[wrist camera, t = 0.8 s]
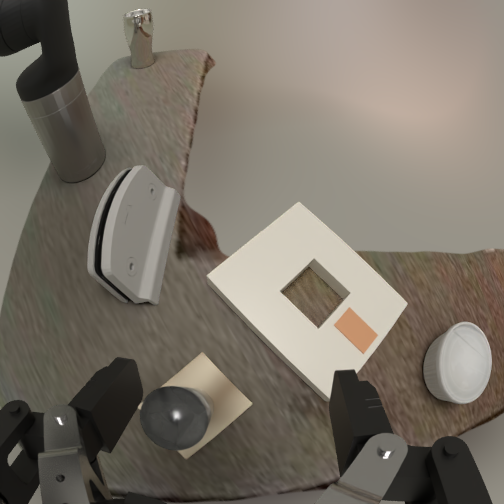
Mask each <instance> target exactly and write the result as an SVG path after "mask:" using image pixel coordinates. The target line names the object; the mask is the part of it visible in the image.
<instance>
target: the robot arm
mask: <svg viewBox="0 0 504 504" xmlns="http://www.w3.org/2000/svg"><path fill="white" fill-rule="evenodd" d="M39 42H41V46H42V55H41V56H40V57H39V58H38V59H37V60H35V61H34V62H33V63H32V64H31V65H30V66H28V67H27V68H26V69H25V70H24V71H23V72H22V74H21V75H20V76H19V78H18V80H17V82H16V88H17V91H18V94H19V96H20V98H21V101H22V103H23V105H24V108H25V110H26V112H27V114H28V116H29V118H30V120H31V122H32V124H33V127H34V129H35V131H36V133H37V135H38V137H39V139H40V141H41V143H42V145H43V147H44V149H45V150H46V152H47V154H48V156H49V158H50V160H51V162H52V164H53V166H54V167H55V169H56V171H57V173H58V174H59V176H60V178H61V179H62V180H63V181H66V182H78V181H81V180H84V179H86V178H88V177H89V176H91V175H92V174H94V173H95V172H96V171H97V170H98V169H99V168H100V167H101V165H102V164H103V162H104V160H105V149H104V147H103V144H102V141H101V138H100V135H99V132H98V129H97V126H96V123H95V120H94V117H93V114H92V111H91V108H90V105H89V101H88V98H87V95H86V92H85V88H84V85H83V82H82V78H81V75H80V71H79V68H78V63H77V59H76V54H75V47H74V42H73V37H72V33H71V26H70V20H69V10H68V2H67V0H0V56H8V55H11V54H14V53H16V52H18V51H21V50H23V49H25V48H27V47H30V46H32V45H34V44H37V43H39ZM142 397H143V388H142V384H141V380H140V376H139V372H138V368H137V364H136V362H135V360H133V359H126V358H120V357H117V358H115V360H114V361H113V362H112V363H111V364H110V365H109V366H108V367H107V366H106V367H104V368H103V369H101V370H99V371H97V372H96V373H95V374H94V376H93V377H92V378H91V380H89V381H88V382H87V383H86V386H84V387H83V388H82V389H81V390H80V391H79V393H78V394H77V395H76V396H75V397H74V398H73V400H72V401H71V402H70V403H69V404H68V405H56V406H53V407H51V408H49V409H48V410H47V411H46V412H45V413H38V412H31V410H30V408H29V406H28V404H27V403H26V402H24V401H22V400H14V401H11V402H9V403H7V404H6V405H5V406H4V407H3V408H2V409H1V410H0V504H28V503H29V501H30V499H31V498H32V496H33V494H34V493H35V491H36V489H37V488H38V486H39V484H40V488H41V496H42V503H43V504H166V503H164V502H162V501H160V500H158V499H154V498H150V497H146V496H142V495H139V494H135V493H132V492H128V494H127V496H126V498H125V499H113V498H112V496H111V494H110V492H109V489H108V486H107V483H106V480H105V477H104V473H103V470H102V466H101V463H100V459H99V457H98V455H97V454H98V453H99V451H100V450H102V451H105V452H108V453H111V452H112V450H113V448H114V447H115V445H116V443H117V441H118V440H119V438H120V436H121V435H122V433H123V431H124V430H125V428H126V426H127V424H128V423H129V421H130V419H131V418H132V416H133V414H134V413H135V411H136V409H137V408H138V406H139V404H140V403H141V400H142ZM329 411H330V418H331V424H332V430H333V435H334V441H335V447H336V453H337V459H338V466H339V472H340V477H341V478H340V480H339V481H338V482H337V483H335V482H334V483H333V484H331V485H330V486H329V487H328V489H327V490H326V491H325V492H324V493H323V494H322V495H321V497H320V498H319V499H318V500H317V501H316V502H315V503H314V504H379V503H380V501H381V500H388V501H405V504H492V501H491V499H490V496H489V494H488V491H487V489H486V486H485V484H484V482H483V479H482V477H481V474H480V472H479V470H478V468H477V465H476V463H475V461H474V459H473V457H472V454H471V452H470V451H469V448H468V446H467V444H466V443H465V442H464V441H463V440H461V439H459V438H457V437H452V436H447V437H442V438H440V439H438V440H437V441H436V442H435V443H434V444H433V446H432V447H416V446H409V445H407V444H406V442H405V441H404V440H403V439H402V438H401V437H399V436H397V435H395V434H394V433H393V431H392V428H391V426H390V423H389V421H388V418H387V415H386V413H385V410H384V408H383V407H382V403H381V400H380V399H379V395H378V393H377V391H376V388H375V387H374V386H372V385H371V384H370V383H369V382H368V381H359V380H358V377H357V374H356V372H355V370H354V369H350V370H335V372H334V377H333V384H332V390H331V396H330V403H329ZM18 442H19V444H20V446H21V447H22V448H23V450H22V451H21V452H20V454H19V455H18V456H17V458H16V459H15V461H14V462H13V463H12V465H11V466H9V465H8V462H7V458H8V455H9V453H10V452H11V451H12V449H13V448H14V447H15V446H16V444H17V443H18Z"/></svg>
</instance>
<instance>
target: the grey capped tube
mask: <svg viewBox="0 0 504 504" xmlns="http://www.w3.org/2000/svg"><path fill="white" fill-rule="evenodd" d="M213 412H214V404H213V401H212V399H211V397H210V396H209V395H208V394H207V393H206V392H205V391H203V390H201V389H197V388H188V387H178V386H165V387H161V388H158V389H156V390H154V391H153V392H151V393H150V394H149V395H148V396H147V397H146V398H145V400H144V401H143V404H142V406H141V410H140V420H141V425H142V428H143V430H144V432H145V433H146V435H147V436H148V437H149V438H150V439H151V440H152V441H153V442H154V443H155V444H157V445H159V446H161V447H163V448H166V449H169V450H185V449H188V448H191V447H193V446H195V445H196V444H197V443H198V442H200V441H201V439H202V438H203V437H204V435H205V433H206V430H207V428H208V425H209V423H210V420H211V418H212V415H213Z"/></svg>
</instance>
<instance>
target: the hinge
mask: <svg viewBox="0 0 504 504" xmlns="http://www.w3.org/2000/svg"><path fill="white" fill-rule="evenodd" d="M180 198H181V197H180V195H179V194H178V192H177V191H176V190H175V189H172V188H169V187H167V186H165V185H164V184H163V183H162V182H161V181H160V180H159V179H158V178H157V177H156V176H155V175H154V173H153V172H152V171H151V170H150V169H149V168H148V167H147V166H135V167H134V168H133V169H131V168H127V169H125V170H123V171H122V172H120V173H119V174H118V175H117V176H116V177H115V179H114V180H113V181H112V182H111V184H110V185H109V187H108V188H107V190H106V192H105V193H104V195H103V197H102V199H101V201H100V204H99V206H98V208H97V211H96V214H95V217H94V221H93V225H92V229H91V233H90V239H89V246H88V265H87V268H88V272H89V274H90V275H91V276H92V277H93V278H94V279H95V280H96V281H98V282H99V283H100V284H101V285H102V286H103V287H105V288H106V289H107V290H108V291H109V292H111V293H112V294H113V295H114V296H115V297H117V298H118V299H119V300H120V301H123V302H125V303H128V300H129V299H131V300H132V301H133V302H135V303H142V302H147V301H148V302H150V303H152V304H153V305H158V303H159V297H160V291H161V286H162V280H163V275H164V270H165V265H166V260H167V255H168V250H169V245H170V241H171V236H172V232H173V227H174V223H175V218H176V214H177V210H178V206H179V202H180Z"/></svg>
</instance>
